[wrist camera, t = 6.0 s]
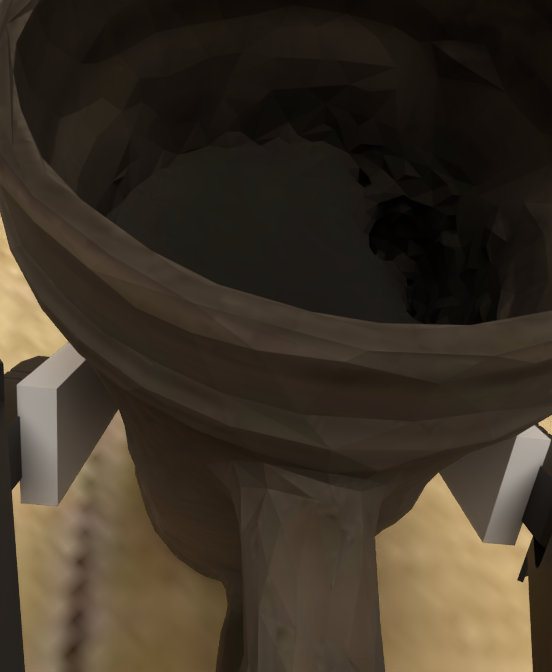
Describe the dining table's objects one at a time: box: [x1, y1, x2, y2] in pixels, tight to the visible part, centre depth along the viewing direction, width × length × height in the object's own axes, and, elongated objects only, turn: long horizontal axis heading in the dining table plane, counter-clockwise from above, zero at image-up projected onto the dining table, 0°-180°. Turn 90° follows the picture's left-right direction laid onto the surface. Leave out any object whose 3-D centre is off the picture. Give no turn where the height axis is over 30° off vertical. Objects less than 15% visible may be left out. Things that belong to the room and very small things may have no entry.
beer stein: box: [0, 0, 552, 672], centre depth 14 cm, size 15×11×20 cm
